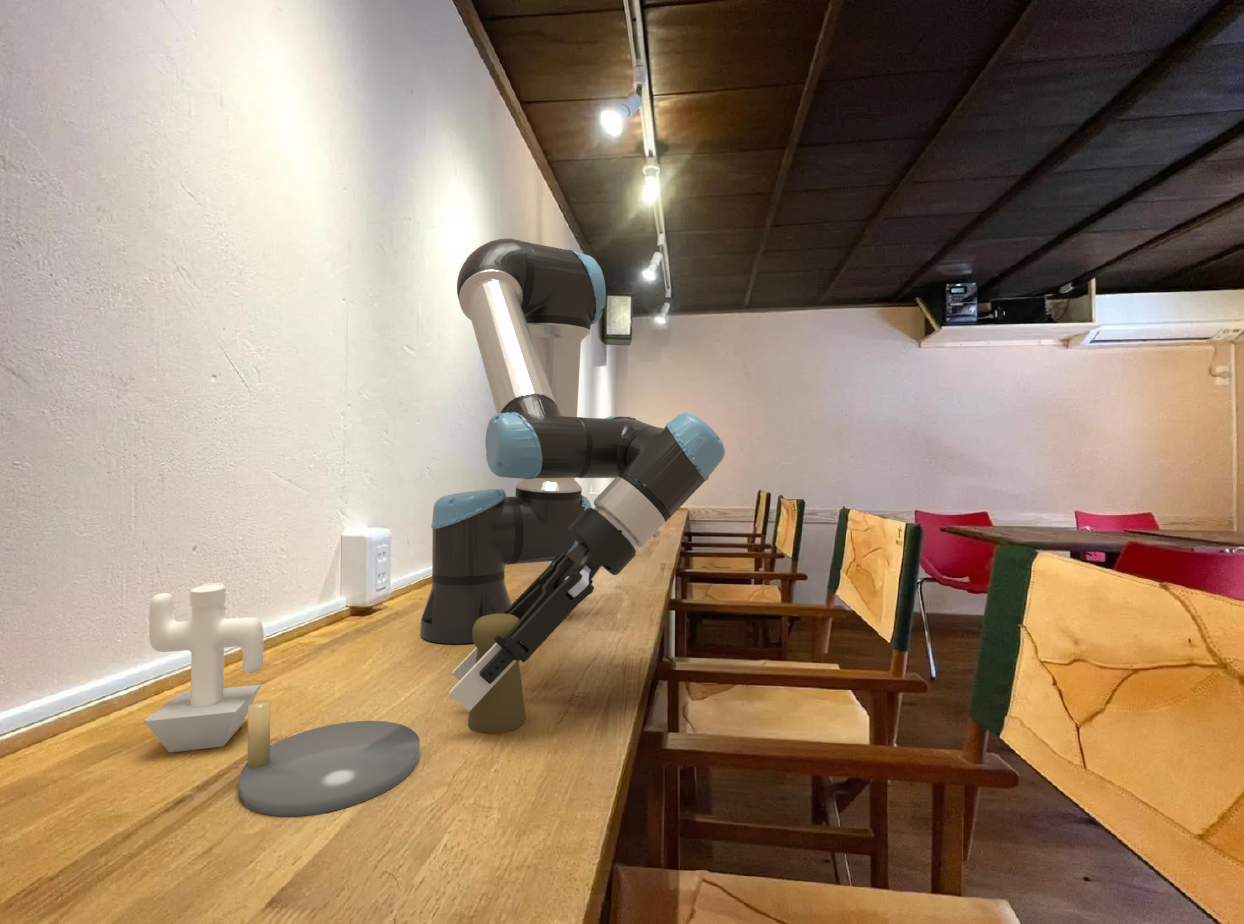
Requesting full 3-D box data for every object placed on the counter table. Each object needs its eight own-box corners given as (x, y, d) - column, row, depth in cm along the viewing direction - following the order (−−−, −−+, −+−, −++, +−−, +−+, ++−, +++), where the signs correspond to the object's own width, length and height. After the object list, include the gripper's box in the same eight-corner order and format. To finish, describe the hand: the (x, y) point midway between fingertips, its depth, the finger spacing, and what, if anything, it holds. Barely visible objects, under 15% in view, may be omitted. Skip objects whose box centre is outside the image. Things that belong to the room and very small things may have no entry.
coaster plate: (312, 729, 58) (313, 668, 58) (444, 736, 56) (445, 672, 56) (194, 810, 44) (195, 728, 44) (366, 822, 42) (366, 737, 42)
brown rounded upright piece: (513, 736, 56) (513, 624, 56) (456, 730, 57) (457, 621, 58) (534, 711, 62) (534, 610, 62) (483, 706, 63) (483, 607, 63)
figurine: (248, 749, 53) (250, 589, 54) (128, 763, 51) (131, 595, 51) (272, 718, 60) (274, 576, 61) (168, 729, 58) (170, 581, 58)
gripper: (662, 562, 55) (487, 755, 51) (618, 542, 73) (486, 683, 68) (609, 508, 54) (425, 700, 49) (577, 501, 71) (440, 641, 67)
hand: (460, 690), depth 59 cm, fingers closed on brown rounded upright piece, 5 cm apart
